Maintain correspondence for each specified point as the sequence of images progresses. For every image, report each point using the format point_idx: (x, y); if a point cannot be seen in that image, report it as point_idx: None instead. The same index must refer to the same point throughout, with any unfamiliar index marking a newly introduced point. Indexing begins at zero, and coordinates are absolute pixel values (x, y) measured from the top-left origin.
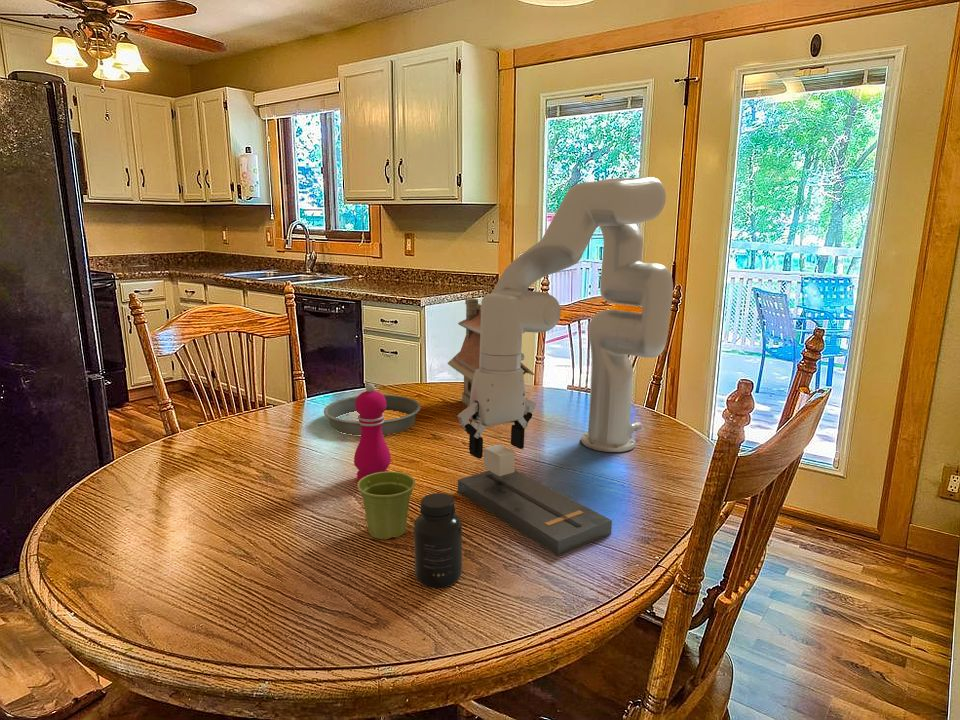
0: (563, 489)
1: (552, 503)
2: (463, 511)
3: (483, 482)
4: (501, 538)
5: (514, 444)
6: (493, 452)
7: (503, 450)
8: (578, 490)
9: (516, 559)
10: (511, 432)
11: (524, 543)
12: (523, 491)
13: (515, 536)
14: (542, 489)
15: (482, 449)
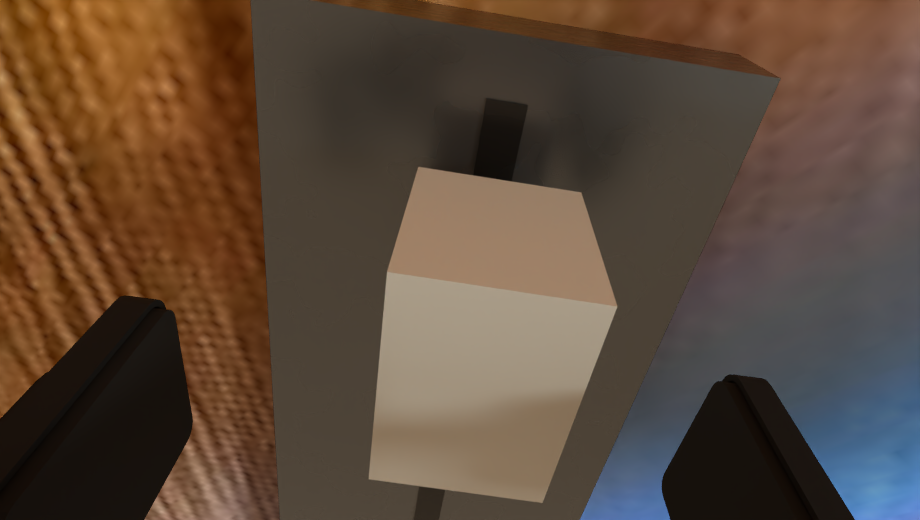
0: (763, 373)
1: (478, 514)
2: (182, 207)
3: (386, 173)
4: (210, 435)
5: (700, 436)
6: (380, 406)
7: (496, 434)
8: (792, 417)
9: (183, 512)
10: (787, 515)
11: (261, 488)
12: None
13: (263, 454)
14: (571, 434)
15: (148, 505)
